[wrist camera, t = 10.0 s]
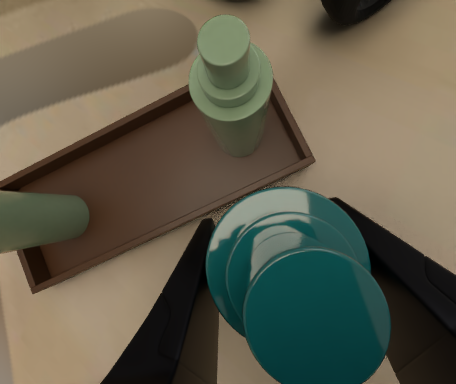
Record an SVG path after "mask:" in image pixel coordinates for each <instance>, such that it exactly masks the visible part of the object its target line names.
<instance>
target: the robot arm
mask: <svg viewBox="0 0 456 384" xmlns="http://www.w3.org/2000/svg"><path fill="white" fill-rule="evenodd" d="M328 199H330V200H331V201H332V202H334V203H335V204H337V205H338V206H339V207H340V208H341V209H343V210H344V211H345V212H346V213H347V214H348V216H349V217H350V218H351V219H352V220H353V221H354V223H355V224H356V226H357V227H358V229H359V231H360V233H361V235H362V237H363V239H364V241H365V244H366V247H367V250H368V253H369V259H370V266H371V275H372V276H373V277H374V279H375V280H376V282H377V283H378V285H379V286H380V288H381V290H382V292H383V294H384V296H385V299H386V302H387V305H388V308H389V313H390V318H391V336H390V342H389V346H388V350H387V352H386V356H387V358H388V360H389V362H390V364H391V366H392V368H393V370H394V372H395V373H396V377H397V379H398V381H399V383H400V384H456V275H455V274H453V273H452V272H450V271H449V270H447V269H445V268H444V267H442V266H441V265H439V264H438V263H436V262H435V261H433V260H432V259H430V258H429V257H427V256H425V257H424V254H422V253H421V252H419V251H418V250H416V249H415V248H413V247H412V246H410V245H409V244H407V243H406V242H404V241H403V240H401V239H400V238H398V237H397V236H395V235H393V234H392V233H390V232H389V231H387V230H386V229H384V228H383V227H381V226H380V225H378V224H377V223H375V222H374V221H372V220H371V219H369V218H368V217H366V216H365V215H363V214H362V213H360V212H359V211H357V210H356V209H354V208H353V207H351V206H350V205H348V204H346V203H345V202H343V201H342V200H340V199H339V198H337V197H334V198H328ZM214 229H215V224H214V221H213V219H212V218H208V219H203V220H202V221H201V223H200V225H199V226H198V228H197V230H196V232H195V234H194V235H193V237H192V239H191V241H190V242H189V244H188V246H187V248H186V250H185V251H184V253H183V255H182V257H181V258H180V260H179V262H178V264H177V266H176V267H175V269H174V271H173V273H172V274H171V276H170V278H169V280H168V282H167V283H166V285H165V287H164V289H163V290H162V293H161V294H160V296H159V297H158V299H157V301H156V303H155V304H154V306H153V308H152V309H151V311H150V313H149V315H148V316H147V318H146V319H145V321H144V322H143V324H142V325H141V327H140V328H139V330H138V331H137V333H136V334H135V336H134V337H133V339H132V340H131V342H130V343H129V344H128V346H127V347H126V349H125V350H124V352H123V353H122V355H121V356H120V358H119V359H118V360H117V362H116V363H115V365H114V366H113V368H112V369H111V371H110V372H109V373H108V375H107V376H106V377H105V378H104V380H103V381H102V382H101V383H100V384H217V360H218V330H219V310H218V309H217V307H216V305H215V303H214V301H213V299H212V296H211V294H210V291H209V287H208V283H207V277H206V253H207V248H208V244H209V240H210V238H211V235H212V233H213V231H214Z"/></svg>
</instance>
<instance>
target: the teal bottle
mask: <svg viewBox="0 0 456 384" xmlns="http://www.w3.org/2000/svg"><path fill="white" fill-rule="evenodd" d="M206 277H207V283H208V287H209V291H210V294H211V296H212V299H213V301H214V303H215V305H216V307H217V309H218V310H219V312H220V313H221V315H222V316H223V317H224V319H225V320H226V321H227V322H228V323H229V324H230V325H231V327H232V328H233V329H235V330H236V331H237V332H238V333H239V334H241V335H242V336H243V337H245V338H246V340H247V343H248V345H249V348H250V350H251V352H252V353H253V355H254V357H255V358H256V360H257V361H258V362H259V364H260V365H261V366H262V368H263V369H264V370H265V371H266V372H267V373H268V374H269V375H270V376H272V377H273V378H274V379H275V380H276V381H278V382H279V383H281V384H362V383H364V382H365V381H366V380H368V379H369V378H370V377H371V376H372V375H373V374H374V373H375V371H376V370H377V369H378V367H379V366H380V365H381V363H382V361H383V359H384V357H385V355H386V352H387V350H388V346H389V342H390V336H391V318H390V313H389V308H388V305H387V302H386V299H385V296H384V294H383V292H382V290H381V288H380V286H379V285H378V283H377V282H376V280H375V279H374V277H373V276H372V275H371V266H370V259H369V253H368V250H367V247H366V244H365V241H364V239H363V237H362V235H361V233H360V231H359V229H358V227H357V226H356V224H355V223H354V221H353V220H352V219H351V218H350V217H349V216H348V214H347V213H346V212H345V211H344V210H343V209H341V208H340V207H339V206H338V205H337V204H335V203H334V202H332V201H331V200H330V199H328V198H326V197H324V196H322V195H320V194H318V193H315V192H313V191H310V190H306V189H302V188H297V187H273V188H267V189H263V190H260V191H257V192H254V193H252V194H250V195H248V196H246V197H244V198H243V199H241V200H239V201H238V202H237V203H235V204H234V205H233V206H232V207H231V208H230V209H229V210H228V211H227V212H226V213H225V214H224V215H223V216H222V218H221V219H220V220H219V222H218V223H217V225H216V227H215V229H214V231H213V233H212V235H211V238H210V240H209V244H208V248H207V253H206Z"/></svg>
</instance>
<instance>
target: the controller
mask: <svg viewBox="0 0 456 384" xmlns="http://www.w3.org/2000/svg"><path fill="white" fill-rule="evenodd" d="M390 1H391V0H321V2H322V5H323V7H324V8H325V10H326V11H327V13H328V14H329V16H330V17H331V19H332V20H333V21H335V22H336V23H338V24H341V25H350V24H355V23H357V22H360V21H362V20H364V19H366V18H368V17H369V16H371V15H373V14H374V13H376V12H377V11H379V10H380V9H381V8H383V7H384V6H385V5H386V4H388V3H389V2H390Z"/></svg>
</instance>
